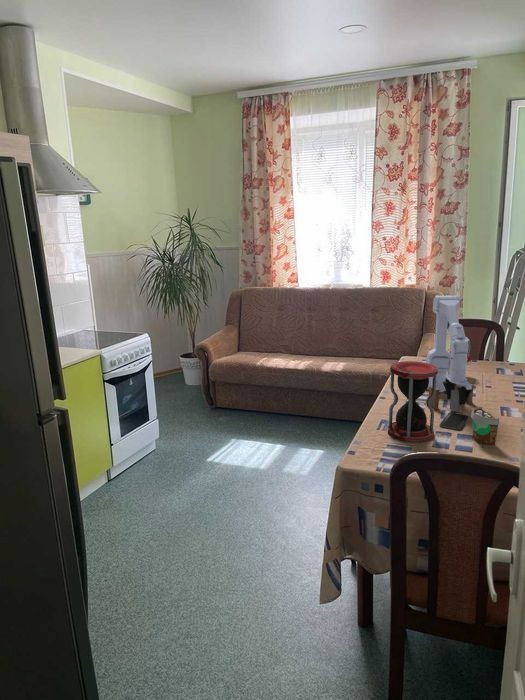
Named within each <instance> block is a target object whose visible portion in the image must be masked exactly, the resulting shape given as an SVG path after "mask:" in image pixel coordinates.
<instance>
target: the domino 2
mask: <svg viewBox="0 0 525 700" xmlns="http://www.w3.org/2000/svg"><path fill="white" fill-rule="evenodd" d="M449 401H450V402H449V409H450V410H451V409H452V410H451V411H453V410H454V412H455V411H456V412H455V413H457V412H459V413H461V412H462V405H460V404H459V392H458V391H457V390H451V399H449Z"/></svg>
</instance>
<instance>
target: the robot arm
mask: <svg viewBox="0 0 525 700" xmlns="http://www.w3.org/2000/svg"><path fill="white" fill-rule="evenodd" d="M432 302H433V303H432V312H433V313H434V314H436V321H435V323H436V324H435V336H434V337H435V338H434V347H433V349H431V350H429V351H428V352H427V355H426V360H425V361H426V362H425V363H429V364H432V365H434V366H436V367H437V368H438V374H437V376H436V388H437V389H439V393H443V392H445V393H446V398H447V400H451V390H454V389H455V386H456V384H457V385H460V386H462V388H457V389H458V392H459V404H460V405H461V406H464V405H466V404H467V402H466V400H467V398H468V396H469V394H470V393H471V391H472V383H471V382H469V381H468V378H466V375H467V353H469V354H470V351H471V342H470V339H469V338H468V337H467V336H466V333H465V329H464V326H463V325H462V324H461V323H460V322H459V321H460V320H459V314H458V312H459V309H460V307H461V298H460V296H459V295H435V296H434V298H433V301H432ZM448 335H449V339H450V340H449V341H450V343H449V344H450V345H449V349H450V351H451V354H450V352H449V351H448V349H447V338H448V337H447V336H448ZM451 357H452V358H451ZM450 368H451V372H450V375H448V374H447V371H448V369H450ZM432 385H433V377H429V385H428V388H427V391H429V386H432Z"/></svg>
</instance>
